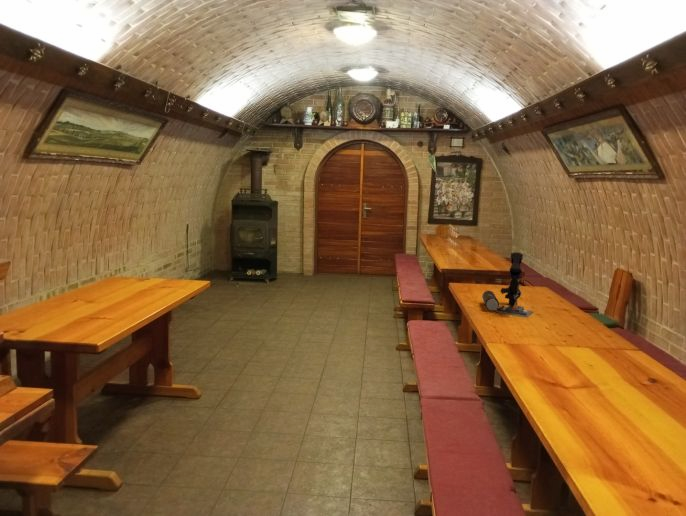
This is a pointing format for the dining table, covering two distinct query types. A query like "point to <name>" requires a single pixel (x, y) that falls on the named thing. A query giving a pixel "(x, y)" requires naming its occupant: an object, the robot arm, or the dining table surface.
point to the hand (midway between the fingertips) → (512, 307)
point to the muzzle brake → (490, 300)
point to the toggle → (515, 305)
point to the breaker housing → (515, 309)
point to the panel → (515, 313)
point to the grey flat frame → (510, 311)
